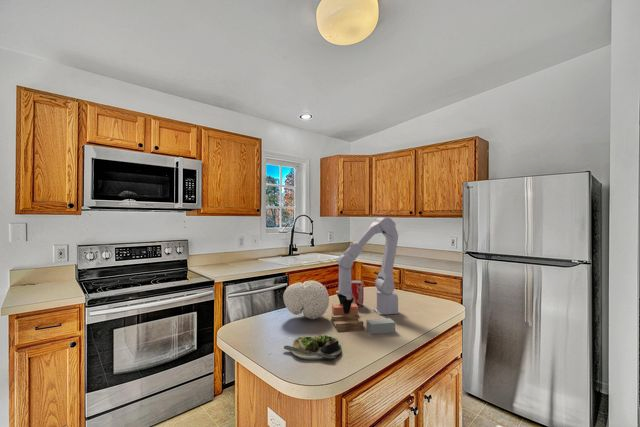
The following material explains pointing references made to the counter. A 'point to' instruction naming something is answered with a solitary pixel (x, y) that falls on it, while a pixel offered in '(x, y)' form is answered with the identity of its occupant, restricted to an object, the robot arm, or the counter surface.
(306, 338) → the salad plate
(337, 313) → the terracotta brick
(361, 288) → the soda can
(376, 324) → the gray block
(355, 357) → the counter surface
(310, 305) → the white rounded lumpy piece
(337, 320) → the jig
